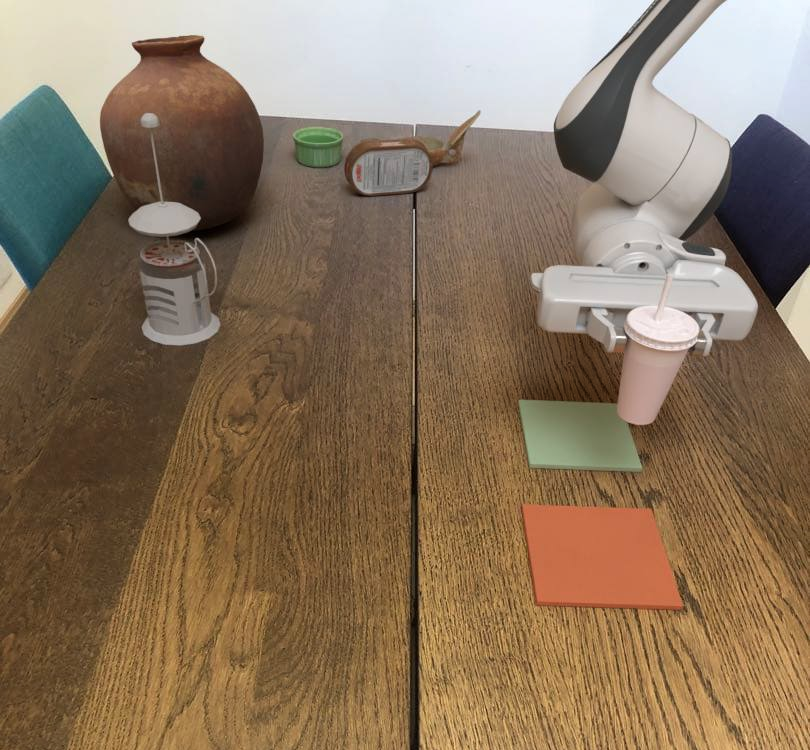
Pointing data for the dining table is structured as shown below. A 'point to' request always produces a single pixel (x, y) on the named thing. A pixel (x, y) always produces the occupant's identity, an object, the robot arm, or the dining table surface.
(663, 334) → the smoothie
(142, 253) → the french press
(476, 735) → the dining table surface
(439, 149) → the oil lamp
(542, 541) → the terracotta mat
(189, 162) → the pottery
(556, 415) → the sage mat
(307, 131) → the ramekin
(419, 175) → the tin
